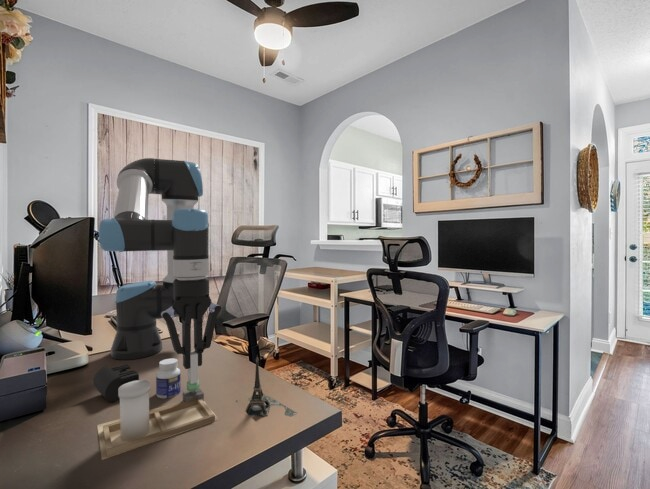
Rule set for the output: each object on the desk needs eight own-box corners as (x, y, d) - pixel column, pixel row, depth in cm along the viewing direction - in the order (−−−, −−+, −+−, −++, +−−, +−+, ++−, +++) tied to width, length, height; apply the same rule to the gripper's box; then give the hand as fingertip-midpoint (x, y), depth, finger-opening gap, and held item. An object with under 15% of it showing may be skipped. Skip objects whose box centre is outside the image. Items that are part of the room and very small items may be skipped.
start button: (185, 396, 76) (185, 381, 76) (197, 393, 77) (197, 378, 77) (188, 401, 74) (188, 385, 74) (200, 397, 75) (200, 382, 75)
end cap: (93, 396, 81) (92, 369, 80) (125, 386, 86) (125, 360, 86) (105, 411, 74) (104, 381, 74) (140, 399, 79) (139, 371, 79)
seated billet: (117, 432, 64) (116, 384, 63) (148, 422, 67) (147, 377, 67) (120, 445, 59) (119, 395, 59) (153, 435, 63) (152, 387, 62)
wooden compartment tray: (97, 430, 66) (96, 415, 66) (199, 400, 78) (199, 387, 78) (101, 466, 56) (101, 448, 56) (219, 425, 68) (219, 409, 68)
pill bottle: (171, 404, 77) (170, 366, 76) (151, 402, 78) (150, 364, 77) (185, 393, 82) (184, 358, 82) (166, 391, 83) (166, 356, 83)
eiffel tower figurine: (298, 415, 72) (298, 355, 72) (259, 435, 65) (259, 368, 65) (260, 393, 83) (259, 340, 83) (222, 408, 76) (221, 350, 76)
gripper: (163, 281, 68) (165, 395, 68) (225, 277, 76) (226, 379, 76) (156, 278, 74) (158, 383, 74) (214, 274, 82) (215, 368, 82)
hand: (193, 381), depth 75 cm, fingers closed
